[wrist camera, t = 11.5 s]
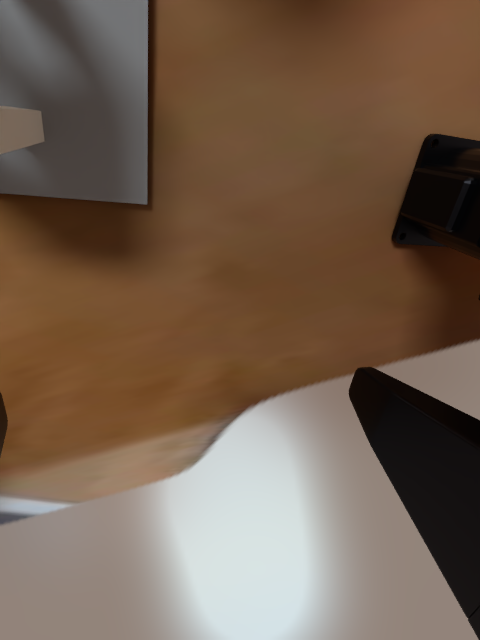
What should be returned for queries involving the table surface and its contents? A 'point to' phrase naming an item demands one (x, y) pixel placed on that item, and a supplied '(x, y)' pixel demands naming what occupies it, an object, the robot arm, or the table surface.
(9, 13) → the mat
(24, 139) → the white u-channel block
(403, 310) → the table surface
